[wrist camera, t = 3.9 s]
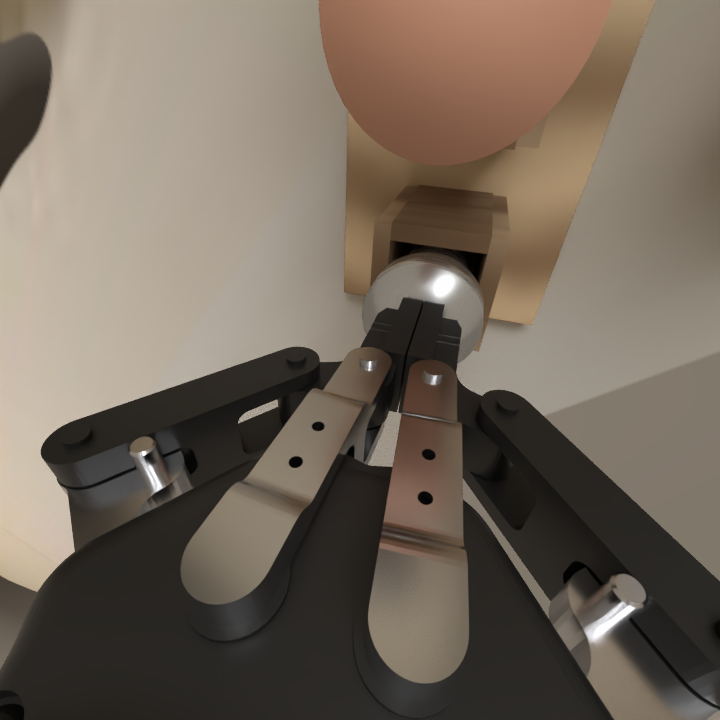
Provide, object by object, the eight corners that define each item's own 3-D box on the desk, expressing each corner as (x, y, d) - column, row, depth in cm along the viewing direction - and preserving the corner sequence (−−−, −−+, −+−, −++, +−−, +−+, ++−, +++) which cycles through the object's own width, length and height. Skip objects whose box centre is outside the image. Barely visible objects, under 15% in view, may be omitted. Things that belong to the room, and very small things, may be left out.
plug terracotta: (422, -44, 12) (315, -232, 5) (569, -45, 11) (704, -278, 4) (405, 119, 15) (321, 154, 7) (523, 128, 14) (554, 177, 7)
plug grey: (411, 194, 20) (365, 255, 13) (496, 204, 19) (498, 276, 12) (402, 271, 22) (359, 358, 15) (476, 283, 22) (467, 381, 15)
